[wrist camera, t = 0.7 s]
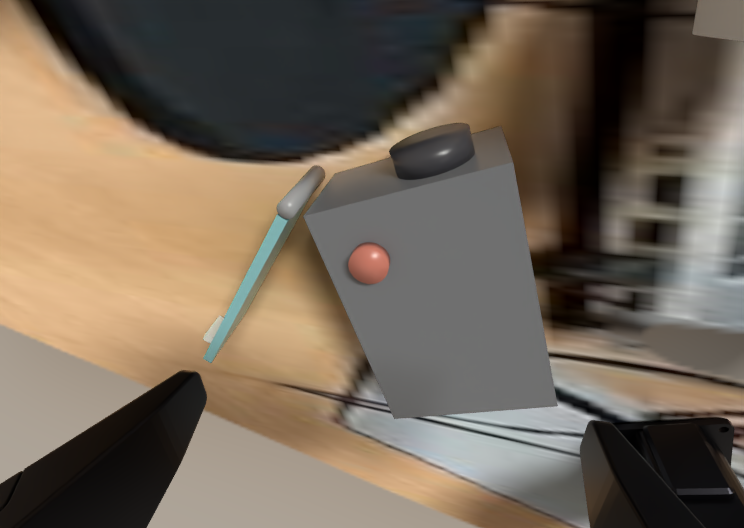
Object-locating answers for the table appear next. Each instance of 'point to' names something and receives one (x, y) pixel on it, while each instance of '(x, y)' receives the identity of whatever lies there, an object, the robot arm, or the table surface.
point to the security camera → (720, 19)
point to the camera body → (438, 274)
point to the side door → (263, 259)
